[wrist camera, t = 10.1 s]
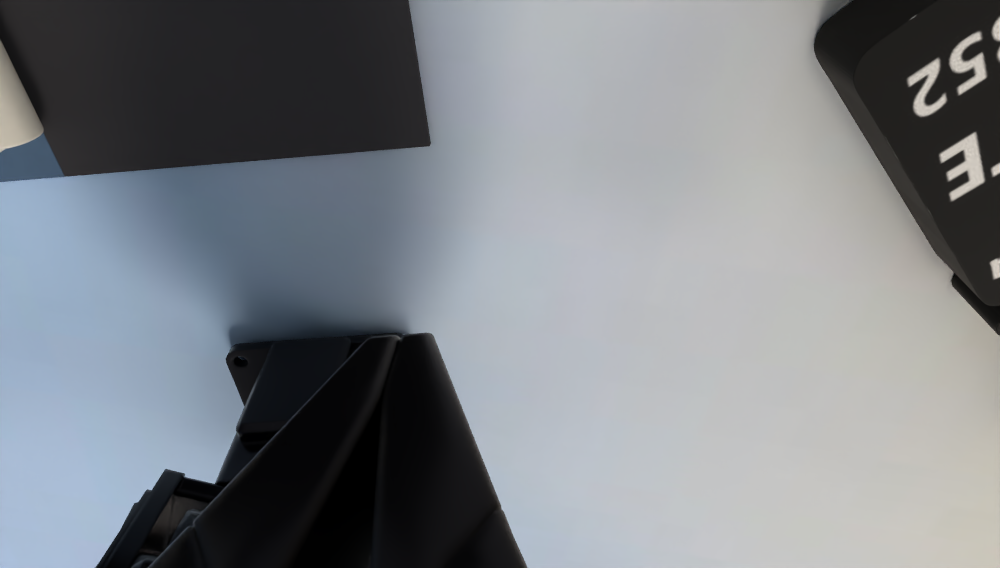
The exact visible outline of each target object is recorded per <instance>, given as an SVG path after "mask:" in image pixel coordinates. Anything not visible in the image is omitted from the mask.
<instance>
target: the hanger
mask: <svg viewBox="0 0 1000 568" xmlns="http://www.w3.org/2000/svg"><path fill="white" fill-rule="evenodd" d="M43 131H44V128H43V126H42V124H41V122H40V120H39V118H38V116H37V114H36V111H35V109H34V107H33V105H32V103H31V101H30V99H29V97H28V95H27V93H26V91H25V89H24V87H23V85H22V83H21V81H20V79H19V77H18V75H17V73H16V70H15V68H14V66H13V64H12V62H11V60H10V58H9V56H8V54H7V52H6V50H5V48H4V46H3V44H2V42H1V40H0V152H2V151H3V150H5V149H7V148H12V147H16V146H19V145H22V144H25V143H28V142H30V141H32V140H34V139H36V138H37V137H39V136H40V135H41V134H42V133H43Z"/></svg>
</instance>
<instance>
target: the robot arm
mask: <svg viewBox="0 0 1000 568" xmlns="http://www.w3.org/2000/svg"><path fill="white" fill-rule="evenodd" d="M238 356H239V357H243V358H245V359H246V360H242V359H240V358H239V357H238ZM226 363H227V365H228V368H229V370H230V372H231V375H232V377H233V380H234V382H235V384H236V387H237V389H238V392H239V394H240V396H241V399H242V401H243V404H244V406H245V407H244V410H243V412H242V414H241V417H240V419H239V421H238V424H237V426H236V432H237V433H236V435H235V437H234V440H233V442H232V444H231V447H230V449H229V452H228V454H227V456H226V459H225V461H224V463H223V466H222V468H221V471H220V473H219V475H218V478H217V480H216V482H215V484H212V483H208V482H204V481H200V480H195V479H191V478H187V477H185V474H184V473H180V472H176V471H172V470H168V469H165V471H164V472H163V474H162V475H161V477H160V478H159V480H158V481H157V483H156V485H155V486H154V488H153V489H152V491H151V490H146V492H145V493H144V495H143V496H142V498H141V499H140V501H139V502H137V503H134V505H133V507H132V509H131V511H130V513H129V515H128V516H127V518H126V520H125V522H124V524H123V526H122V528H121V530H120V531H119V533H118V535H117V536H116V538H115V539H114V541H113V542H112V544H111V545H110V547H109V548H108V550H107V551H106V553H105V555H104V556H103V558H102V559H101V561H100V562H99V564H98V565H97V566H96V567H95V568H527V566H526V563H525V561H524V559H523V557H522V554H521V552H520V550H519V548H518V545H517V543H516V541H515V539H514V537H513V534H512V532H511V529H510V526H509V524H508V521H507V519H506V516H505V514H504V512H503V510H501V505H500V502H499V500H498V497H497V495H496V492H495V490H494V487H493V485H492V482H491V480H490V477H489V474H488V472H487V469H486V467H485V464H484V462H483V459H482V457H481V454H480V452H479V449H478V447H477V444H476V442H475V439H474V437H473V434H472V432H471V429H470V427H469V424H468V422H467V419H466V417H465V414H464V412H463V409H462V407H461V404H460V402H459V399H458V397H457V394H456V392H455V389H454V387H453V384H452V381H451V379H450V376H449V374H448V371H447V369H446V366H445V364H444V361H443V359H442V356H441V354H440V351H439V349H438V346H437V344H436V341H435V339H434V336H433V335H432V334H430V333H417V334H405V335H403V334H400V333H387V334H372V335H358V336H343V337H328V338H314V339H300V340H285V341H271V342H257V343H243V344H236V345H234V346H233V347H231V349H230V351H229V353H228V355H227V357H226Z"/></svg>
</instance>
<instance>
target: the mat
mask: <svg viewBox="0 0 1000 568" xmlns="http://www.w3.org/2000/svg"><path fill="white" fill-rule="evenodd" d="M0 40H1V42H2V44H3V46H4V48H5V50H6V52H7V54H8V56H9V58H10V60H11V62H12V64H13V66H14V68H15V70H16V73H17V75H18V77H19V79H20V81H21V83H22V85H23V87H24V89H25V91H26V93H27V95H28V97H29V99H30V101H31V103H32V105H33V107H34V109H35V111H36V114H37V116H38V118H39V120H40V122H41V124H42V126H43V128H44V131H43V133H42V134H41V135H40V136H39V137H37V138H36V139H34V140H32V141H30V142H28V143H25V144H22V145H19V146H16V147H12V148H7V149H5V150H3V151H2V152H0V182H5V181H17V180H29V179H41V178H53V177H64V176H77V175H89V174H101V173H113V172H125V171H137V170H149V169H161V168H173V167H185V166H197V165H209V164H221V163H233V162H245V161H257V160H269V159H281V158H293V157H305V156H317V155H329V154H340V153H352V152H364V151H376V150H388V149H400V148H412V147H424V146H430V144H431V142H430V136H429V129H428V123H427V116H426V110H425V104H424V97H423V91H422V84H421V78H420V72H419V65H418V59H417V52H416V46H415V40H414V33H413V27H412V20H411V14H410V8H409V1H408V0H0Z"/></svg>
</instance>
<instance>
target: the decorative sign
mask: <svg viewBox="0 0 1000 568" xmlns="http://www.w3.org/2000/svg"><path fill="white" fill-rule="evenodd" d="M814 51H815V55H816V57H817V59H818V61H819V63H820V65H821V66H822V68H823V70H824V71H825V73H826V74H827V76H828V77H829V79H830V81H831V82H832V84H833V85H834V87H835V89H836V90H837V92H838V94H839V95H840V97H841V99H842V100H843V102H844V104H845V105H846V107H847V108H848V110H849V112H850V113H851V115H852V117H853V118H854V120H855V122H856V123H857V125H858V127H859V128H860V130H861V131H862V133H863V135H864V136H865V138H866V140H867V141H868V143H869V145H870V146H871V148H872V149H873V151H874V153H875V154H876V156H877V158H878V159H879V161H880V163H881V164H882V166H883V168H884V169H885V171H886V172H887V174H888V176H889V177H890V179H891V181H892V182H893V184H894V186H895V187H896V189H897V191H898V192H899V194H900V195H901V197H902V199H903V200H904V202H905V204H906V205H907V207H908V209H909V210H910V212H911V214H912V215H913V217H914V218H915V220H916V222H917V223H918V225H919V227H920V228H921V230H922V232H923V233H924V235H925V237H926V238H927V240H928V241H929V243H930V245H931V246H932V248H933V250H934V251H935V252H936V254H937V255H938V256H939V257H940V258H941V259H942V260H943V261H944V262H945V263H946V264H947V265H948V266H949V267H950V269H951V270H952V271H953V272H954V273H955V274H956V275H955V276H954V278H953V280H952V286H953V287H954V288H955V289H956V290H957V291H958V292H959V293H960V294H961V296H962V297H963V298H964V299H965V300H966V301H967V302H968V303H969V304H970V305H971V306H972V307H973V308H974V309H975V310H976V312H977V313H978V314H979V315H980V316H981V317H982V318H983V319H984V320H985V321H986V322H987V323H988V324H989V325H990V327H991V328H992V329H993V330H994V331H995V332H996V333H997V334H998V335H1000V0H854V1H853V2H851V3H850V4H848V5H847V6H846V7H844V8H843V9H842V10H840V11H839V12H838V13H836V14H835V15H834V16H833V17H831V18H830V19H829V20H828V21H827V22H826V23H825V24H824V25H823V26H822V28H821V29H820V31H819V33H818V35H817V37H816V40H815V44H814Z"/></svg>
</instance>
